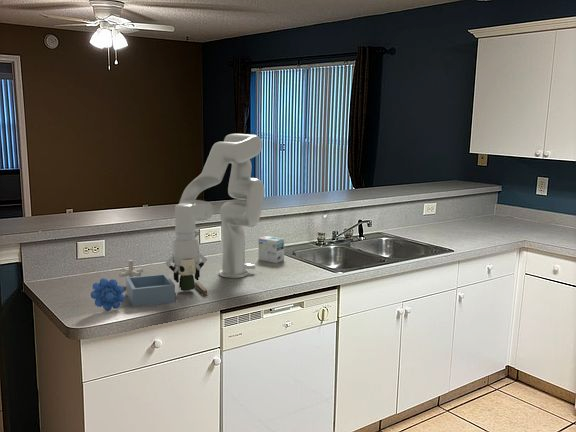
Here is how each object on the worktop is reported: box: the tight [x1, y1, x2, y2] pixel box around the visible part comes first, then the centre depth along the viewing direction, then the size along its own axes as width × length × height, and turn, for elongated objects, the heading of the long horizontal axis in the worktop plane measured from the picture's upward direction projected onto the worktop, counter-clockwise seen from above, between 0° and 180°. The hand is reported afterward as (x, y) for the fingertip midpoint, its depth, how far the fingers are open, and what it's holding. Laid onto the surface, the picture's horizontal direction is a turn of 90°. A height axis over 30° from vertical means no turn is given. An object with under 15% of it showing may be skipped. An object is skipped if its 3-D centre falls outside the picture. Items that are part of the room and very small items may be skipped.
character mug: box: [178, 259, 196, 292], centre depth 222 cm, size 11×7×13 cm, turn 38°
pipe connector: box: [118, 259, 144, 278], centre depth 230 cm, size 10×10×10 cm
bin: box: [125, 273, 176, 308], centre depth 215 cm, size 15×15×7 cm
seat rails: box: [175, 280, 208, 300], centre depth 223 cm, size 14×12×2 cm
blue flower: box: [90, 277, 126, 312], centre depth 200 cm, size 12×7×12 cm, turn 119°
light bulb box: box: [257, 235, 285, 264], centre depth 272 cm, size 11×7×11 cm, turn 58°
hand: (186, 280), depth 223 cm, fingers closed on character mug, 7 cm apart
